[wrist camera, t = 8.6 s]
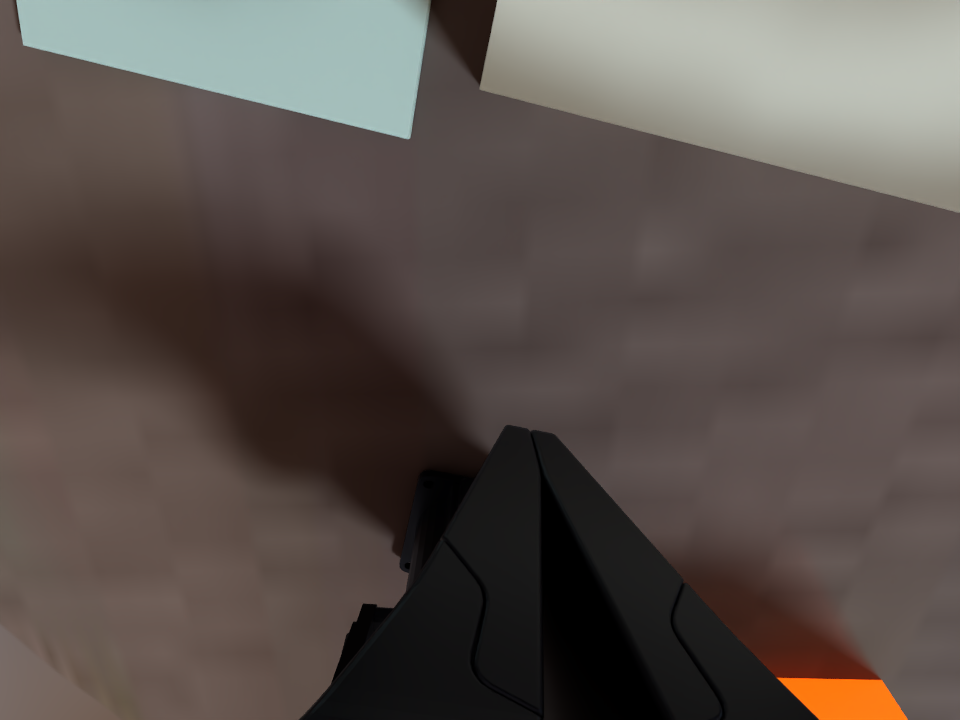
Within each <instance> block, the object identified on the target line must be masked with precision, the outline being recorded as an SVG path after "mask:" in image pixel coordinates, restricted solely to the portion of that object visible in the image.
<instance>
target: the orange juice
mask: <svg viewBox="0 0 960 720" xmlns="http://www.w3.org/2000/svg"><path fill="white" fill-rule="evenodd" d="M778 679H779V680H780V681H781V682H782V683H783V684H784V685H785V686H786V687H787V688H788V689H789V690H790V691H791V692H792V693H793V694H794V695H795V696H796V697H797V698H798V699H799V700H800V701H801V702H802V703H803V704H804V705H805V706H806V707H807V708H808V709H809V710H810V711H811V712H812V713H813V714H814V715H815V716H816V717H817V718H818V719H819V720H907V718H906V716H905V715H904V713H903V712H902V710H901V709H900V707H899V706H898V704H897V703H896V701H895V700H894V698H893V697H892V695H891V693H890V692H889V690H888V689H887V687H886V686H885V684H884V683H883V681H882V680H851V679H805V678H778Z"/></svg>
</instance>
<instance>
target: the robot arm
mask: <svg viewBox="0 0 960 720" xmlns="http://www.w3.org/2000/svg"><path fill="white" fill-rule="evenodd" d="M426 480H430V481H432V483H428V482H426ZM408 562H410V563H408ZM400 568H401V570H403V571H404V572H407V573H409V575H408V582H407V588H406V593H405V594H404V595H403V597H402V598H401V599H400V601H399V602H398V603H397V605H396V606H395V607H394V608H383V607H377V605H376V604H363V605H362V608H361V611H360V614H359V616H358V619H357V622H353V624H352V626H351V629H350V632H349V633H348V634H347V635H346V639H345V642H344V646H343V650H342V654H341V657H340V660H339V663H338V666H337V669H336V671H335V674H334V677H333V680H332V683H331V685H330V686H329V687H328V689H327V690H326V691H325V692H324V693H323V694H322V695H321V697H320V698H319V699H318V700H317V701H316V702H315V703H314V704H313V705H312V707H311V708H310V709H309V710H308V711H307V712H306V713H305V714H304V715H303V716H302V717H301V718H300V719H299V720H819V719H818V718H817V717H816V716H815V715H814V714H813V713H812V712H811V711H810V710H809V709H808V708H807V707H806V706H805V705H804V704H803V703H802V702H801V701H800V700H799V699H798V698H797V697H796V696H795V695H794V694H793V693H792V692H791V691H790V690H789V689H788V688H787V687H786V686H785V685H784V684H783V683H782V682H781V681H780V680H779V679H778V678H777V677H775V676H774V675H773V674H772V673H771V672H770V671H769V670H768V669H767V668H766V667H765V666H764V665H763V664H762V663H761V661H760V660H759V659H758V658H757V657H756V656H755V655H754V654H753V653H752V652H751V651H750V650H749V649H748V648H747V647H746V646H745V645H744V644H743V643H742V642H741V641H740V640H739V639H738V638H737V637H736V636H735V635H734V634H733V633H732V632H731V631H730V630H729V629H728V628H727V627H726V625H725V624H724V623H723V622H722V621H721V620H720V619H719V618H718V617H717V616H716V615H715V614H714V612H713V611H712V610H711V609H710V608H709V607H708V606H707V605H706V604H705V603H704V602H703V600H702V599H701V598H700V597H699V596H698V595H697V594H696V593H695V591H694V590H693V589H692V588H691V587H690V586H689V585H688V584H687V583H683V578H682V577H681V576H680V575H679V574H678V573H677V571H676V570H675V569H674V568H673V567H672V566H671V565H670V564H669V562H668V561H667V560H666V559H665V558H664V557H663V556H662V555H661V553H660V552H659V551H658V550H657V549H656V548H655V547H654V546H653V544H652V543H651V542H650V541H649V540H648V539H647V538H646V537H645V535H644V534H643V533H642V532H641V531H640V530H639V529H638V528H637V526H636V525H635V524H634V523H633V522H632V521H631V520H630V519H629V517H628V516H627V515H626V514H625V513H624V512H623V511H622V509H621V508H620V507H619V506H618V505H617V504H616V503H615V502H614V500H613V499H612V498H611V497H610V496H609V495H608V494H607V493H606V491H605V490H604V489H603V488H602V487H601V486H600V485H599V484H598V482H597V481H596V480H595V479H594V478H593V477H592V476H591V475H590V473H589V472H588V471H587V470H586V469H585V468H584V467H583V466H582V464H581V463H580V462H579V461H578V460H577V459H576V458H575V457H574V455H573V454H572V453H571V452H570V451H569V450H568V449H567V448H566V446H565V445H564V444H563V443H562V442H561V441H560V440H559V439H558V437H557V436H556V435H554V434H552V433H547V432H542V431H537V430H532V431H531V432H530V431H529V430H528V429H527V428H522V427H517V426H512V425H506V426H505V427H504V429H503V431H502V432H501V434H500V436H499V438H498V439H497V441H496V443H495V444H494V446H493V448H492V450H491V451H490V453H489V455H488V457H487V458H486V460H485V462H484V464H483V465H482V467H481V469H480V471H479V472H478V474H477V476H476V477H475V478H469V477H464V476H459V475H453V474H448V473H443V472H437V471H432V470H426V471H423V472H422V473H421V474H420V475H419V478H418V483H417V487H416V492H415V496H414V501H413V505H412V510H411V514H410V519H409V523H408V527H407V532H406V536H405V541H404V545H403V550H402V554H401V559H400Z"/></svg>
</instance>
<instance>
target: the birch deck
mask: <svg viewBox="0 0 960 720" xmlns="http://www.w3.org/2000/svg"><path fill="white" fill-rule="evenodd" d="M479 90H483V91H487V92H491V93H495V94H499V95H503V96H507V97H511V98H514V99H518V100H522V101H526V102H530V103H534V104H538V105H542V106H546V107H549V108H553V109H557V110H561V111H565V112H569V113H573V114H577V115H581V116H585V117H588V118H592V119H596V120H600V121H604V122H608V123H612V124H616V125H620V126H624V127H627V128H631V129H635V130H639V131H643V132H647V133H651V134H655V135H659V136H663V137H666V138H670V139H674V140H678V141H682V142H686V143H690V144H694V145H698V146H702V147H705V148H709V149H713V150H717V151H721V152H725V153H729V154H733V155H737V156H741V157H744V158H748V159H752V160H756V161H760V162H764V163H768V164H772V165H776V166H780V167H783V168H787V169H791V170H795V171H799V172H803V173H807V174H811V175H815V176H819V177H822V178H826V179H830V180H834V181H838V182H842V183H846V184H850V185H854V186H857V187H861V188H865V189H869V190H873V191H877V192H881V193H885V194H889V195H893V196H896V197H900V198H904V199H908V200H912V201H916V202H920V203H924V204H928V205H932V206H935V207H939V208H943V209H947V210H951V211H955V212H959V213H960V0H497V5H496V10H495V15H494V20H493V25H492V30H491V35H490V40H489V45H488V50H487V55H486V60H485V64H484V69H483V74H482V79H481V84H480V89H479Z"/></svg>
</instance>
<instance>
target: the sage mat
mask: <svg viewBox="0 0 960 720" xmlns="http://www.w3.org/2000/svg"><path fill="white" fill-rule="evenodd" d="M16 2H17V8H18V14H19V21H20V27H21V34H22V40H23V45H25V46H29V47H33V48H37V49H41V50H45V51H50V52H54V53H58V54H62V55H66V56H70V57H74V58H78V59H82V60H86V61H90V62H95V63H99V64H103V65H107V66H111V67H115V68H119V69H123V70H127V71H131V72H135V73H140V74H144V75H148V76H152V77H156V78H160V79H164V80H168V81H172V82H176V83H180V84H184V85H189V86H193V87H197V88H201V89H205V90H209V91H213V92H217V93H221V94H225V95H229V96H234V97H238V98H242V99H246V100H250V101H254V102H258V103H262V104H266V105H270V106H274V107H279V108H283V109H287V110H291V111H295V112H299V113H303V114H307V115H311V116H315V117H319V118H324V119H328V120H332V121H336V122H340V123H344V124H348V125H352V126H356V127H360V128H364V129H368V130H373V131H377V132H381V133H385V134H389V135H393V136H397V137H401V138H405V139H409V138H410V137H411V130H412V124H413V117H414V111H415V104H416V98H417V91H418V84H419V78H420V71H421V65H422V58H423V52H424V45H425V39H426V32H427V26H428V19H429V12H430V6H431V0H16Z"/></svg>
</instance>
